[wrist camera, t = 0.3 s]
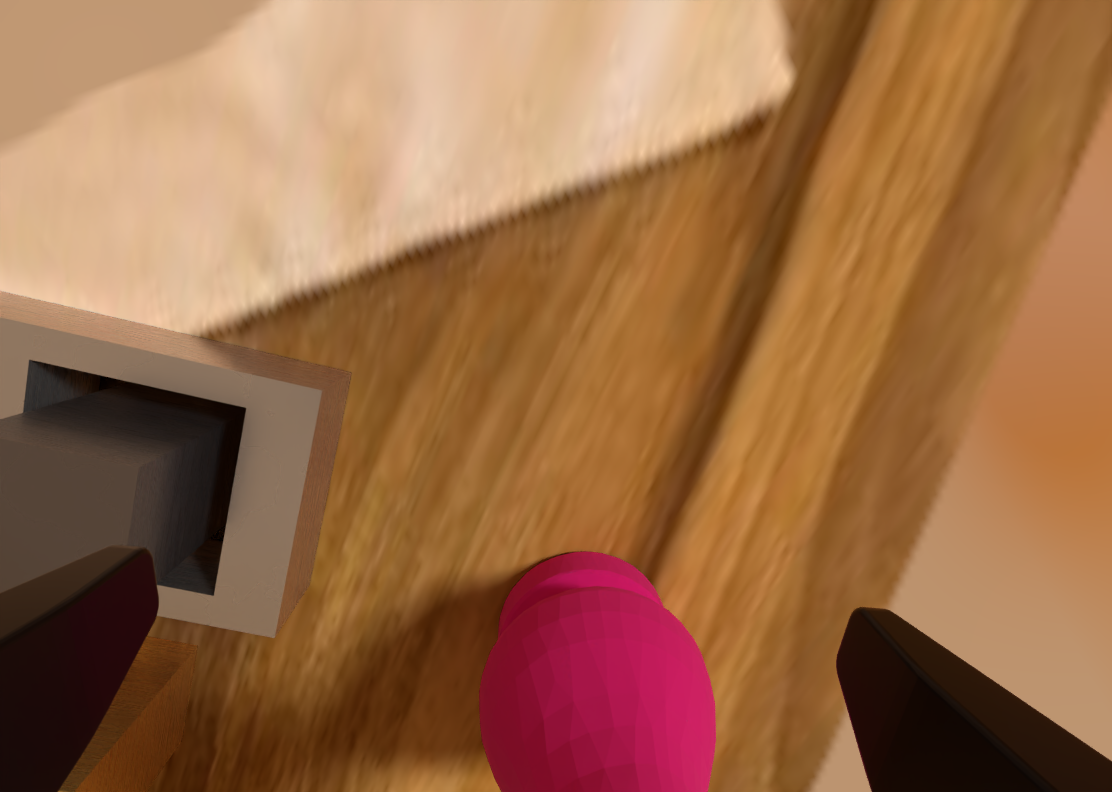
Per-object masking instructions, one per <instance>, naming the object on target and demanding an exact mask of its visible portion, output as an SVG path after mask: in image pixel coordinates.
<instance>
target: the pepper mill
mask: <svg viewBox="0 0 1112 792" xmlns="http://www.w3.org/2000/svg"><path fill="white" fill-rule="evenodd" d="M479 711H480V728H481V736H482V742H483V746H484V749H485V752H486V755H487V758H488V762H489V764H490V767H491V770H492V773H493V775H494V778H495V780H496V782H497V784H498V786H499V788H500V790H501V792H708V787H709V781H710V776H711V770H712V764H713V759H714V752H715V743H716V722H715V701H714V696H713V692H712V687H711V682H710V678H709V675H708V672H707V669H706V666H705V663H704V660H703V657H702V654H701V652H700V650H699V648H698V646H697V644H696V642H695V640H694V639H693V637H692V636H691V635H690V633H689V632H688V631H687V630H686V628H685V627H684V626H683V624H682V623H681V622H680V621H679V620H678V619H677V618H676V617H675V616H674V615H673V614H672V613H671V612H670V611H668V610H667V609H665V608H664V607H663V604H662V602H661V600H660V598H659V596H658V594H657V592H656V590H655V588H654V587H653V586H652V584H651V583H650V582H649V580H648V579H647V578H646V577H645V576H644V575H643V574H642V573H641V572H640V571H639V570H637V569H636V568H635V567H634V566H632V565H630V564H629V563H627V562H625V561H623V560H621V559H619V558H616V557H613V556H610V555H606V554H603V553H597V552H573V553H568V554H564V555H560V556H556V557H554V558H552V559H549V560H547V561H545V562H542V563H540V564H539V565H537V566H536V567H534V568H533V569H531V570H530V571H529V572H527V573H526V574H525V575H524V576H523V577H522V578H521V579H520V580H519V582H518V583H517V584H516V585H515V586H514V587H513V588H512V590H511V592H510V593H509V595H508V597H507V599H506V601H505V603H504V606H503V609H502V612H501V615H500V620H499V629H498V640H497V642H496V643H495V645H494V647H493V648H492V650H491V651H490V654H489V657H488V660H487V663H486V665H485V668H484V671H483V674H482V679H481V685H480V691H479Z"/></svg>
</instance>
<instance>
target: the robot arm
mask: <svg viewBox="0 0 1112 792" xmlns="http://www.w3.org/2000/svg"><path fill="white" fill-rule="evenodd" d="M158 608H159V595H158V588H157V582H156V575H155V568H154V561H153V557H152V554H151V552H150V551H149V550H148V549H147V548H145V547H139V546H128V545H111V546H108V547H106V548H103V549H101V550H99V551H96V552H94V553H92V554H89V555H87V556H85V557H82V558H80V559H78V560H75V561H73V562H71V563H68V564H66V565H64V566H61V567H59V568H57V569H54V570H52V571H50V572H47V573H45V574H43V575H40V576H38V577H36V578H33V579H31V580H29V581H26V582H24V583H22V584H19V585H17V586H15V587H12V588H10V589H8V590H5V591H3V592H1V593H0V792H58V791H59V790H60V788H61V787H62V785H63V784H64V782H65V780H66V779H67V777H68V776H69V774H70V773H71V771H72V770H73V768H74V767H75V765H76V764H77V762H78V761H79V759H80V757H81V756H82V754H83V753H84V751H85V750H86V748H87V746H88V745H89V743H90V742H91V740H92V738H93V737H94V735H95V733H96V731H97V730H98V728H99V726H100V724H101V723H102V721H103V719H104V717H105V715H106V713H107V711H108V710H109V708H110V706H111V704H112V702H113V700H114V698H115V696H116V694H117V692H118V690H119V688H120V687H121V685H122V683H123V681H124V679H125V677H126V675H127V673H128V671H129V669H130V667H131V665H132V664H133V662H134V660H135V658H136V656H137V654H138V652H139V650H140V648H141V646H142V644H143V642H144V640H145V639H146V637H147V635H148V633H149V631H150V629H151V627H152V625H153V623H154V621H155V619H156V616H157V613H158ZM836 668H837V674H838V678H839V682H840V685H841V689H842V692H843V696H844V699H845V703H846V706H847V710H848V713H849V717H850V720H851V723H852V727H853V730H854V733H855V737H856V741H857V744H858V748H859V751H860V755H861V758H862V762H863V765H864V769H865V772H866V775H867V778H868V781H869V785H870V788H871V791H872V792H1112V761H1111V760H1109V759H1108V758H1106V757H1105V756H1103V755H1102V754H1100V753H1099V752H1097V751H1096V750H1094V749H1093V748H1091V747H1090V746H1088V745H1087V744H1086V743H1084V742H1083V741H1081V740H1080V739H1078V738H1077V737H1075V736H1074V735H1072V734H1071V733H1069V732H1068V731H1066V730H1065V729H1063V728H1062V727H1061V726H1059V725H1058V724H1056V723H1054V722H1053V721H1052V720H1050V719H1049V718H1047V717H1046V716H1044V715H1043V714H1041V713H1040V712H1039V711H1037V710H1036V709H1034V708H1032V707H1031V706H1030V705H1028V704H1027V703H1025V702H1024V701H1022V700H1021V699H1019V698H1018V697H1017V696H1015V695H1014V694H1012V693H1011V692H1009V691H1008V690H1006V689H1005V688H1003V687H1002V686H1000V685H999V684H997V683H996V682H994V681H993V680H992V679H990V678H989V677H987V676H986V675H984V674H983V673H981V672H980V671H978V670H977V669H975V668H974V667H972V666H971V665H969V664H968V663H967V662H965V661H964V660H962V659H961V658H959V657H958V656H956V655H955V654H953V653H952V652H950V651H949V650H948V649H946V648H945V647H943V646H942V645H940V644H938V643H937V642H936V641H934V640H933V639H931V638H930V637H928V636H927V635H925V634H924V633H923V632H921V631H919V630H918V629H917V628H915V627H914V626H912V625H911V624H909V623H908V622H906V621H905V620H903V619H902V618H901V617H899V616H898V615H896V614H894V613H893V612H891V611H890V610H887V609H880V608H867V607H859V608H856V609H855V610H854V611H853V612H852V614H851V616H850V618H849V621H848V624H847V627H846V630H845V633H844V636H843V639H842V642H841V645H840V648H839V651H838V654H837V660H836Z"/></svg>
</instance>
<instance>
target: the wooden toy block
mask: <svg viewBox="0 0 1112 792" xmlns="http://www.w3.org/2000/svg"><path fill="white" fill-rule="evenodd" d="M197 650H198V646H197V645H192V644H186V643H181V642H175V641H170V640H165V639H159V638H154V637H149V636H147V637H146V639H145V640H144V642H143V644H142V646H141V648H140V650H139V652H138V654H137V656H136V658H135V660H134V662H133V664H132V665H131V667H130V669H129V671H128V673H127V675H126V677H125V679H124V681H123V683H122V685H121V687H120V688H119V690H118V692H117V694H116V696H115V698H114V700H113V702H112V704H111V706H110V708H109V710H108V711H107V713H106V715H105V717H104V719H103V721H102V723H101V724H100V726H99V728H98V730H97V731H96V733H95V735H94V737H93V738H92V740H91V742H90V743H89V745H88V746H87V748H86V750H85V751H84V753H83V754H82V756H81V757H80V759H79V761H78V762H77V764H76V765H75V767H74V768H73V770H72V771H71V773H70V774H69V776H68V777H67V779H66V780H65V782H64V784H63V785H62V787H61V788H60V790H59V791H58V792H146V791H147V789H148V788H149V787H150V785H151V784H152V782H153V781H154V780H155V778H156V777H157V775H158V774H159V773H160V771H161V770H162V768H163V767H164V766H165V764H166V763H167V761H168V760H169V759H170V757H171V756H172V754H173V753H174V751H175V750H176V749H177V747H178V746H179V744H180V743H181V742H182V737H183V731H184V725H185V719H186V714H187V708H188V702H189V696H190V690H191V684H192V679H193V673H194V667H195V661H196V655H197Z"/></svg>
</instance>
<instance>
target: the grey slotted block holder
mask: <svg viewBox="0 0 1112 792" xmlns="http://www.w3.org/2000/svg"><path fill="white" fill-rule="evenodd" d="M101 376H106V377H110V378H115V379H119V380H124V381H128V382H129V383H125V384H122V385H118V386H115V387H111V388H108V389H104V390H101V391H99V386H100V378H101ZM350 378H351V372H347V371H343V370H338V369H334V368H330V367H325V366H321V365H317V364H312V363H308V362H304V361H299V360H295V359H291V358H286V357H282V356H278V355H274V354H269V353H265V352H261V351H256V350H252V349H248V348H243V347H239V346H235V345H230V344H226V343H222V342H217V341H213V340H209V339H204V338H200V337H196V336H191V335H187V334H183V333H178V332H174V331H170V330H166V329H161V328H157V327H153V326H148V325H144V324H140V323H135V322H131V321H127V320H122V319H118V318H114V317H109V316H105V315H101V314H96V313H92V312H88V311H83V310H79V309H75V308H70V307H66V306H62V305H58V304H53V303H49V302H45V301H40V300H36V299H32V298H27V297H23V296H19V295H14V294H10V293H6V292H1V291H0V593H1V592H3V591H5V590H8V589H10V588H12V587H15V586H17V585H19V584H22V583H24V582H26V581H29V580H31V579H33V578H36V577H38V576H40V575H43V574H45V573H47V572H50V571H52V570H54V569H57V568H59V567H61V566H64V565H66V564H68V563H71V562H73V561H75V560H78V559H80V558H82V557H85V556H87V555H89V554H92V553H94V552H96V551H99V550H101V549H103V548H106V547H108V546H111V545H128V546H139V547H145V548H147V549H148V550H149V551H150V552H151V554H152V557H153V561H154V568H155V575H156V582H157V588H158V595H159V608H158V613H157V616H161V617H166V618H171V619H177V620H182V621H187V622H193V623H198V624H203V625H208V626H214V627H219V628H224V629H230V630H235V631H240V632H245V633H251V634H256V635H261V636H267V637H272V638H275V637H276V635H277V634H278V632H279V631H280V629H281V628H282V626H283V625H284V623H285V622H286V620H287V619H288V617H289V615H290V614H291V612H292V611H293V609H294V608H295V606H296V605H297V603H298V602H299V600H300V599H301V597H302V596H303V594H304V593H305V591H306V590H307V588H308V587H309V584H310V579H311V574H312V569H313V564H314V559H315V554H316V549H317V544H318V539H319V534H320V529H321V524H322V519H323V514H324V509H325V504H326V499H327V493H328V488H329V483H330V478H331V473H332V468H333V463H334V458H335V453H336V448H337V443H338V438H339V433H340V428H341V423H342V418H343V413H344V408H345V403H346V398H347V393H348V388H349V383H350ZM225 524H226V529H225V534H224V540H223V542H221V541H216V540H211V539H209V538H210V537H211V536H212V535H213V534H215V533H216V532H217V531H218V530H219V529H220V528H222V527H223V526H224V525H225Z"/></svg>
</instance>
